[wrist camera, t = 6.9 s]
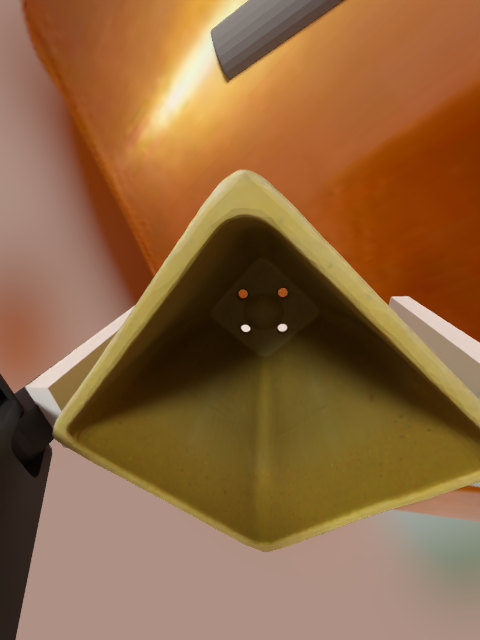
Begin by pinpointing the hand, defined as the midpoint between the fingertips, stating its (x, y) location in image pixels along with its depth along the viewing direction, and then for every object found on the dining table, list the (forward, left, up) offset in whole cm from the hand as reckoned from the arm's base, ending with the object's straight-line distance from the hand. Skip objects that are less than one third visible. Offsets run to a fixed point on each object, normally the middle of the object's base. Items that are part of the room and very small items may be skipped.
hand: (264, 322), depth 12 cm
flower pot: (0, 0, -2) cm, 2 cm away
